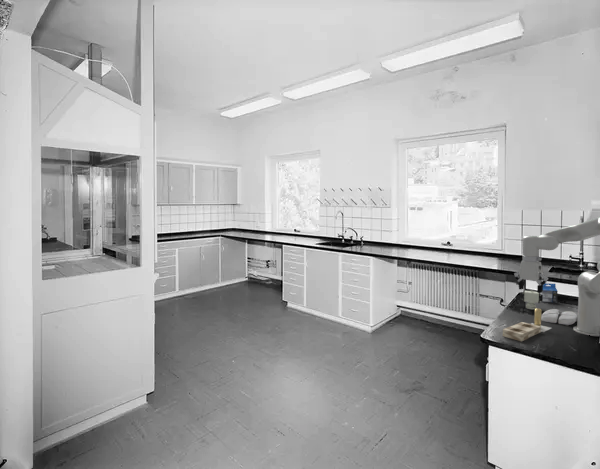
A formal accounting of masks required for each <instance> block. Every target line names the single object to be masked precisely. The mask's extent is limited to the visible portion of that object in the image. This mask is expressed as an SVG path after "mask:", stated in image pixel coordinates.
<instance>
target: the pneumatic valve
mask: <svg viewBox="0 0 600 469" xmlns="http://www.w3.org/2000/svg"><path fill="white" fill-rule="evenodd" d="M519 298H520V300H522V302H525V303H526V304H525V308H526V309H528V310H532V311H535V308H537V304H541V302H542V301H543V295H542V294H540V293H538V292H537V291H534V290H523V292H522V291H521V292H520V296H519Z"/></svg>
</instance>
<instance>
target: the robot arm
mask: <svg viewBox="0 0 600 469" xmlns="http://www.w3.org/2000/svg"><path fill="white" fill-rule="evenodd" d="M597 236H598V237H599V236H600V216H599V217H598V216H597V217H596V218H595V217H594V218H592V219H589V220H587V221H584V222H580V223H578V224H577V223H576V224H574V225H570V226H565V227H563V228H559V229H555V230H552V231H548V232H546V233H543V234H540V235H539V236H537V235H525V236H523V237H522V253H521V254H522V260H521V262H520V265H519V270H518V271H516V272H514V273H513V274H514V277H515V279H516V281H517V282H518V290H524V288H525V282H524V280H525V281H530V282H536V283H537V286H536V289H537V290H536V292H538V293H541V292H542V291H543V285H544V284H545V283H548V280H549V277H548V276H547V275H544V272H543V265H542V262H541V261H542V257H541V256H540V250H542V251H553V250H556V249H557V248H558V247H559V245H560V244H562V243H568V242H569V243H570V242H572V243H573V242H582V241H585V240H589V239H592V238H594V237H597ZM596 268H597V270H598V272H596V271H592V270H591V271H590V270H589V271H588V270H587V271H583V272H581V274H580V275H579V276H578V278H577V288H578V290H577V291H578V301H577V303H578V304H577V316H578V318H577V321H576V322H577V323H576V324H577V325H576V326H575V325H574V326H573V329H572V330H573V331H575V332H576V333H578V334H581V335H586V336H589V335H590V336H591V337H600V336H599V335H600V260H599V261H598V262H597V265H596Z"/></svg>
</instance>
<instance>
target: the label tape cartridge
mask: <svg viewBox="0 0 600 469" xmlns="http://www.w3.org/2000/svg"><path fill="white" fill-rule="evenodd" d="M540 294H542V295H543V301H541V303H554V304H555V303H558V290H557V287H556V283H549V282H546V283H545V284H544V285H543V291H542V292H541V293H540Z"/></svg>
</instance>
